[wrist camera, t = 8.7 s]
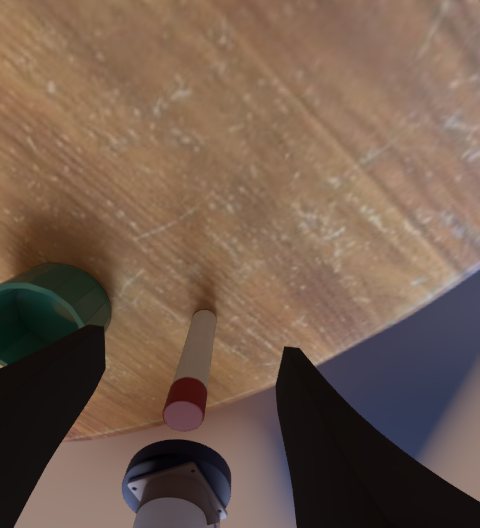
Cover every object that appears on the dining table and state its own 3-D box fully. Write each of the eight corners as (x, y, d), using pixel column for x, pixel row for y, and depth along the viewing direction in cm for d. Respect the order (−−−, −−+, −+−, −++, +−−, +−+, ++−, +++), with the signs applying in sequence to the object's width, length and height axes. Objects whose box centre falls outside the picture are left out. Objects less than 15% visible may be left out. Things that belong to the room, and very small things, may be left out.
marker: (221, 326, 21) (210, 425, 13) (198, 334, 21) (173, 437, 13) (211, 305, 20) (192, 395, 12) (187, 313, 20) (154, 407, 12)
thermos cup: (128, 328, 21) (107, 358, 18) (52, 357, 22) (18, 391, 18) (78, 248, 19) (43, 265, 15) (-4, 283, 20) (-53, 306, 16)
